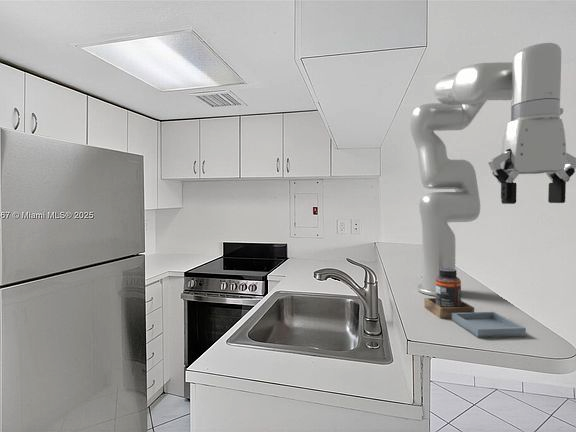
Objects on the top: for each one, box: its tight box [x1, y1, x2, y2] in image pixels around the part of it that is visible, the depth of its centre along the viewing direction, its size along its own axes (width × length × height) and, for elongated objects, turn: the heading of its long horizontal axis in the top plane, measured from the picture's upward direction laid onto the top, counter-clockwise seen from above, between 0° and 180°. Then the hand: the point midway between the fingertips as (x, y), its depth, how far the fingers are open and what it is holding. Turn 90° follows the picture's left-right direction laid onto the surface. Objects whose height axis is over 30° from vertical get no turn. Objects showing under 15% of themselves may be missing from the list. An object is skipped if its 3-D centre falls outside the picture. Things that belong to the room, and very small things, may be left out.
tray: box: [451, 311, 527, 339], centre depth 75 cm, size 10×10×2 cm
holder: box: [423, 297, 475, 319], centre depth 86 cm, size 9×9×2 cm
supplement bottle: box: [435, 268, 462, 308], centre depth 86 cm, size 6×6×11 cm
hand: (532, 203), depth 64 cm, fingers open, 9 cm apart
